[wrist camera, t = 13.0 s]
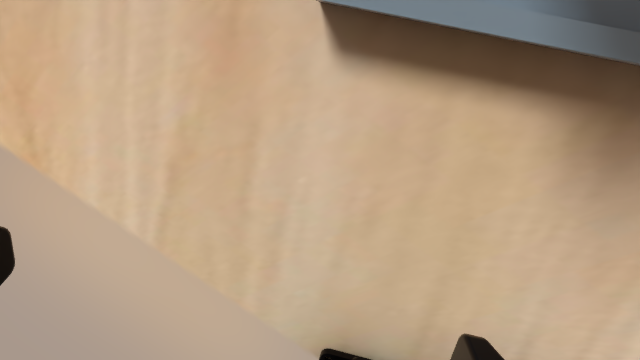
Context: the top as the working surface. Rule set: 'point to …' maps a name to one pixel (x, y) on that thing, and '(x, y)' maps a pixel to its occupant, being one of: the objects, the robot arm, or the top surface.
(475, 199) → the top surface
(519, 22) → the tray
